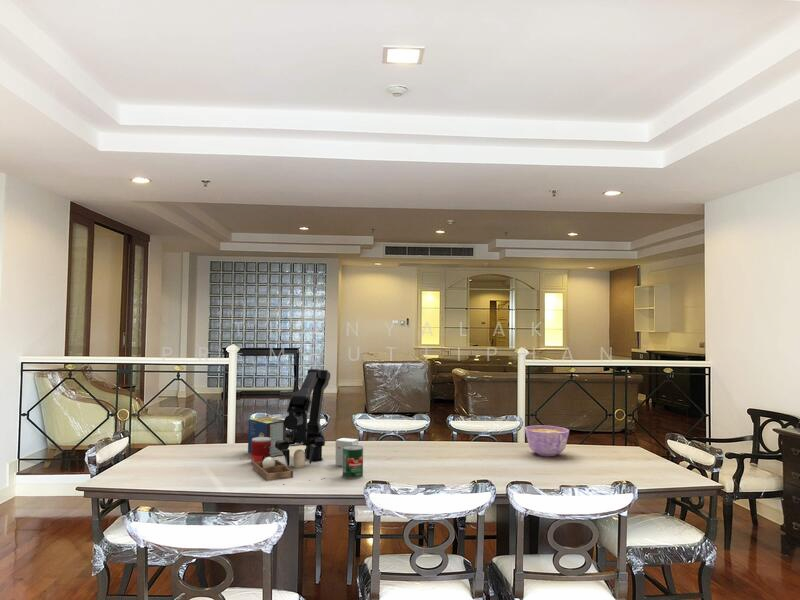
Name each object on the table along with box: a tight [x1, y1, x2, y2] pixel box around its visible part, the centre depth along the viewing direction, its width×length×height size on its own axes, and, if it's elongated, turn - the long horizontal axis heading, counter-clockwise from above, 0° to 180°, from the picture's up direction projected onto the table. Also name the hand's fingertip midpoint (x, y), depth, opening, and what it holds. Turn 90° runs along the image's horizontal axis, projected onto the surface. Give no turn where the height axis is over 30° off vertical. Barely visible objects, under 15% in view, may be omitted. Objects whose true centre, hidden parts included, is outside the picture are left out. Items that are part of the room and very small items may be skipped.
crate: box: [252, 459, 294, 482], centre depth 213 cm, size 10×20×4 cm, turn 29°
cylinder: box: [293, 449, 306, 469], centre depth 224 cm, size 5×5×8 cm
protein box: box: [247, 416, 287, 458], centre depth 251 cm, size 10×15×16 cm
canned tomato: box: [342, 444, 364, 480], centre depth 215 cm, size 8×8×11 cm
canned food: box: [250, 437, 271, 465], centre depth 229 cm, size 8×8×11 cm
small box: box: [335, 437, 359, 467], centre depth 232 cm, size 8×6×10 cm
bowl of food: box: [524, 424, 570, 457], centre depth 256 cm, size 20×20×12 cm
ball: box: [262, 457, 276, 468], centre depth 217 cm, size 5×5×5 cm
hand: (299, 464), depth 224 cm, fingers open, 9 cm apart
